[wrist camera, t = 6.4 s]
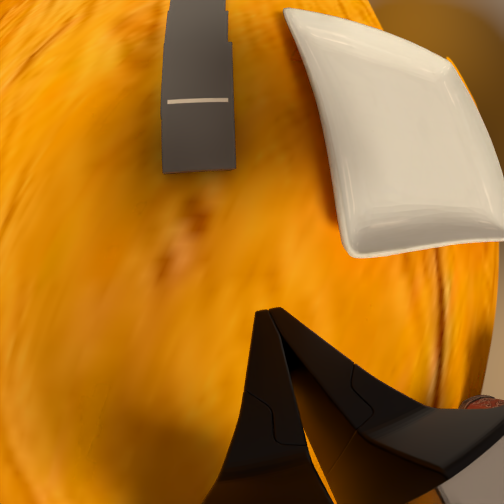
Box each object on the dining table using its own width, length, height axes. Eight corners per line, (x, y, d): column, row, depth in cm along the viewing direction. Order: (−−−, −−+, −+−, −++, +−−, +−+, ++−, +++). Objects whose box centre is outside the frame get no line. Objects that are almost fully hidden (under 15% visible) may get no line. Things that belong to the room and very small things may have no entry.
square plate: (438, 72, 32) (452, 59, 28) (497, 245, 28) (519, 239, 24) (273, 25, 26) (283, 0, 22) (324, 266, 22) (350, 258, 18)
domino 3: (236, 168, 20) (232, 41, 18) (162, 172, 19) (164, 42, 16) (232, 170, 21) (228, 50, 19) (163, 174, 20) (164, 52, 18)
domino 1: (224, 72, 21) (225, -13, 19) (163, 73, 20) (172, -13, 18) (221, 78, 23) (223, -4, 20) (164, 79, 22) (172, -4, 19)
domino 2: (227, 114, 20) (228, 10, 18) (160, 116, 19) (167, 10, 17) (224, 119, 22) (225, 19, 20) (161, 120, 21) (168, 19, 19)
